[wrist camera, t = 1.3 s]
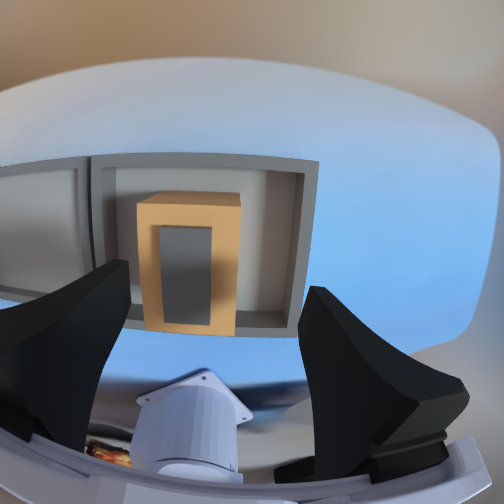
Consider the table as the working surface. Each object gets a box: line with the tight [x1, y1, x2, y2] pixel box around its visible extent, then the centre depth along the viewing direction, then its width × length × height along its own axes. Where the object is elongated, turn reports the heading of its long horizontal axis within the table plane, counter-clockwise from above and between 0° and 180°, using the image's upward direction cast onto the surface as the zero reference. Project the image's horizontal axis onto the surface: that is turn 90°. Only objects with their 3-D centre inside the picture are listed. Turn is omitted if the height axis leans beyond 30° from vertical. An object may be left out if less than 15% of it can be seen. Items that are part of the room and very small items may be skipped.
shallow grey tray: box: [0, 156, 96, 303], centre depth 19 cm, size 15×12×2 cm
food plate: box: [84, 433, 133, 468], centre depth 29 cm, size 25×23×4 cm
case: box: [91, 153, 319, 338], centre depth 19 cm, size 14×12×3 cm
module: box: [137, 190, 241, 336], centre depth 17 cm, size 5×7×7 cm
